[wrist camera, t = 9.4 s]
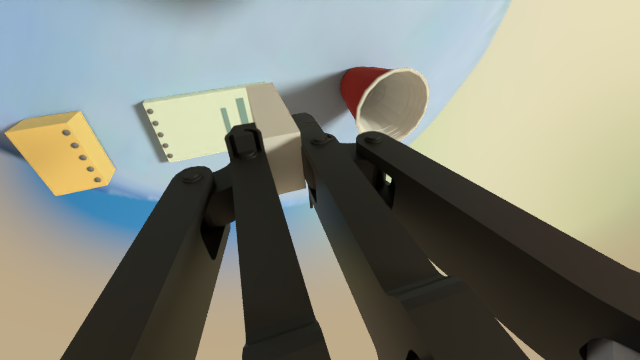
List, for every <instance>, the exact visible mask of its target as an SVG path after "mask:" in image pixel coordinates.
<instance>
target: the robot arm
mask: <svg viewBox="0 0 640 360" xmlns="http://www.w3.org/2000/svg"><path fill="white" fill-rule="evenodd" d="M245 87H246V91H247V96H248V101H249V105H250V110H251V115H252V119H253V122H252V123H247V124H241V125H235V126H233V127H232V129H231V130H230V132H229V133H228V134H227V135H225V138H224V140H225V143H226V147H227V150H228V153H229V157H230V163H229V164H228V165H227V166H226V167H224V168H222V169H220V170H218V171H216V172H213V173H212V171H211V170H210V169H209V168H207V167H204V166H196V167H190V168H188V169H184V170H183V171H181V172H179V173H178V174H176V175H175V176H174V178H173V179H172V180H171V182H170V184H169V185H168V187H167V188H166V190H165V192H164V193H163V195H162V196H161V198H160V200H159V201H158V203H157V205H156V206H155V208H154V209H153V211H152V213H151V214H150V216H149V217H148V219H147V221H146V222H145V224H144V225H143V227H142V229H141V230H140V232H139V233H138V235H137V237H136V238H135V240H134V242H133V243H132V245H131V246H130V248H129V250H128V251H127V253H126V255H125V256H124V258H123V259H122V261H121V263H120V264H119V266H118V267H117V269H116V271H115V272H114V274H113V276H112V277H111V279H110V280H109V282H108V283H107V285H106V287H105V288H104V290H103V291H102V293H101V295H100V296H99V298H98V300H97V301H96V303H95V304H94V306H93V308H92V309H91V311H90V312H89V314H88V316H87V317H86V319H85V321H84V322H83V324H82V326H81V327H80V328H79V330H78V332H77V333H76V335H75V337H74V338H73V340H72V341H71V343H70V345H69V346H68V348H67V349H66V351H65V353H64V354H63V356H62V358H61V359H60V360H195V357H196V354H197V351H198V347H199V343H200V339H201V336H202V332H203V328H204V325H205V321H206V317H207V313H208V310H209V306H210V302H211V298H212V295H213V291H214V287H215V284H216V280H217V276H218V273H219V269H220V265H221V262H222V258H223V254H224V250H225V247H226V243H227V239H228V235H229V232H230V223H231V222H233V221H235V220H236V231H237V242H238V254H239V265H240V275H241V287H242V299H243V309H244V320H245V332H246V344H245V346H244V348H243V353H242V360H331V359H330V356H329V352H328V349H327V346H326V343H325V340H324V336H323V333H322V330H321V328H320V325H319V323H318V321H317V320H316V318H315V315H314V312H313V309H312V306H311V303H310V299H309V296H308V293H307V289H306V286H305V283H304V279H303V276H302V273H301V269H300V266H299V263H298V260H297V256H296V252H295V249H294V246H293V243H292V239H291V236H290V233H289V229H288V226H287V222H286V219H285V216H284V213H283V209H282V206H281V202H280V199H279V196H278V195H279V194H283V193H287V192H291V191H296V190H300V189H304V188H306V182H307V184H308V190H309V200H310V208H313V205H314V208H315V210H316V212H317V214H318V217H319V219H320V221H321V223H322V226H323V228H324V230H325V232H326V235H327V237H328V240H329V242H330V244H331V247H332V249H333V251H334V254H335V256H336V258H337V260H338V263H339V265H340V267H341V270H342V272H343V274H344V277H345V279H346V281H347V283H348V285H349V288H350V290H351V293H352V295H353V297H354V300H355V302H356V304H357V306H358V309H359V311H360V313H361V316H362V318H363V320H364V323H365V325H366V327H367V330H368V332H369V334H370V336H371V338H372V341H373V343H374V346H375V348H376V351H377V355H378V359H379V360H530V359H529V358H528V357H527V356H526V355H525V353H524V352H523V351H522V350H521V349H520V347H519V346H518V345H517V344H516V343H515V341H514V340H513V339H512V338H511V337H510V335H509V334H508V333H507V332H506V331H505V329H504V328H503V327H502V326H501V324H500V323H499V322H498V321H497V320H496V319H498V320H499V321H500V322H501V323H502V324H503V325H504V326H505V327H507V328H508V329H509V330H510V331H511V332H512V333H514V334H515V335H516V336H517V337H518V338H519V339H520V340H522V341H523V342H524V343H525V344H527V345H528V346H529V347H530V348H531V349H533V350H534V351H535V352H536V353H537V354H539V355H540V356H541V357H543V358H544V359H545V360H640V273H639V272H636V271H634V270H631V269H629V268H627V267H625V266H624V265H621V264H620V263H618V262H616V261H614V260H613V259H611V258H609V257H607V256H605V255H604V254H602V253H600V252H598V251H596V250H595V249H593V248H591V247H589V246H587V245H586V244H584V243H582V242H580V241H578V240H576V239H575V238H573V237H571V236H569V235H567V234H566V233H564V232H562V231H560V230H558V229H556V228H555V227H553V226H551V225H549V224H547V223H546V222H544V221H542V220H540V219H538V218H537V217H535V216H533V215H531V214H529V213H528V212H526V211H524V210H522V209H520V208H518V207H517V206H515V205H513V204H511V203H509V202H508V201H506V200H504V199H502V198H500V197H499V196H497V195H495V194H493V193H491V192H489V191H488V190H486V189H484V188H482V187H481V186H479V185H477V184H475V183H473V182H471V181H470V180H468V179H466V178H464V177H462V176H461V175H459V174H457V173H455V172H453V171H451V170H450V169H448V168H446V167H444V166H442V165H441V164H439V163H437V162H435V161H433V160H432V159H430V158H428V157H426V156H424V155H423V154H421V153H419V152H417V151H415V150H413V149H412V148H410V147H408V146H406V145H404V144H403V143H401V142H399V141H397V140H395V139H394V138H392V137H390V136H388V135H386V134H384V133H381V132H376V131H367V132H363V133H361V134H359V135H358V136H357V137H356V143H339V141H338V140H337V139H336V137H334V136H333V135H331V134H328V133H324V132H323V131H322V129H321V128H320V126H319V125H318V124H317V122H316V121H315V119H314V118H313V117H312V116H311V115H309V114H307V113H300V114H294V115H290V113H289V111H288V109H287V108H286V106H285V104H284V102H283V100H282V99H281V97H280V95H279V93H278V92H277V90H276V88H275V86H274V85H273V83H265V84H258V85H251V86H245ZM386 174H387V175H389V176H390V177H391V178H392V180H391V183H389V182H388V181H386ZM305 179H306V182H305ZM429 260H430V261H432V262H433V263H434V264H435V265H436V266H437V267H438V268H440V269H441V270H442V271H443V272H444V273H445V274H446V275H448V276H443V275H441V274H440V273H439V272H438V271H437V270H436V268H435V267H434V266H433V264H432V263H431V262H430V261H429Z"/></svg>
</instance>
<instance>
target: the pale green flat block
mask: <svg viewBox="0 0 640 360" xmlns="http://www.w3.org/2000/svg"><path fill="white" fill-rule="evenodd" d="M258 84H265V82H258V83H251V84H245V85H238V86H232V87H226V88H219V89H213V90H206V91H200V92H193V93H187V94H180V95H174V96H167V97H161V98H154V99H148V100H144V102H143V106H144V108H145V110H146V112H147V114H148V117H149V119H150V121H151V123H152V125H153V128H154V130H155V132H156V134H157V136H158V139H159V141H160V143H161V145H162V147H163V150H164V152H165V154H166V156H167V158H168V161H169V163H171V162H176V161H181V160H185V159H190V158H195V157H200V156H205V155H210V154H215V153H220V152H225V151H228V150H227V147H226V143H225V140H224V138H225V135H227V134H228V133H229V132H230V130H231V129H232V127H233V126H235V125H241V124H247V123H252V122H253V119H252V115H251V110H250V105H249V101H248V96H247V91H246V87H245V86H251V85H258Z"/></svg>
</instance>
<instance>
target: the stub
mask: <svg viewBox="0 0 640 360" xmlns="http://www.w3.org/2000/svg"><path fill="white" fill-rule="evenodd" d="M5 134H6V136H7V137H8V138H9V139H10V140H11V142H12V143H13V144H14V145H15V147H16V148H17V149H18V150H19V152H20V153H21V154H22V155H23V156H24V158H25V159H26V160H27V161H28V163H29V164H30V165H31V166H32V168H33V169H34V170H35V171H36V172H37V174H38V175H39V176H40V177H41V179H42V180H43V181H44V182H45V184H46V185H47V186H48V187H49V188H50V190H51V191H52V192H53V193H54V195H55V196H58V195H63V194H68V193H72V192H77V191H82V190H87V189H92V188H96V187H101V186H106V185H108V183H109V181H110V179H111V177H112V176H113V174H114V172H115V168H114V166H113V165H112V163H111V161H110V160H109V158H108V156H107V155H106V153H105V152H104V150H103V148H102V147H101V145H100V143H99V142H98V140H97V138H96V137H95V135H94V133H93V132H92V130H91V128H90V127H89V125H88V123H87V122H86V120H85V118H84V117H83V115H82V113H81V112H80V111H75V112H68V113H62V114H55V115H49V116H42V117H36V118H29V119H24V120H22V121H21V122H19V123H18V124H16V125H15V126H13V127H12V128H11V129H9V130H8V131H6V132H5Z"/></svg>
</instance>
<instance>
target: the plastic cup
mask: <svg viewBox="0 0 640 360" xmlns="http://www.w3.org/2000/svg"><path fill="white" fill-rule="evenodd" d="M340 91H341V94H342V97H343V99H344V101H345V102H346V105H347V107H348V109H349V110H350V112H351V114H352V115H353V117H354V119H355V121H356V125H357V129H358V132H359V134H361V133H363V132H367V131H376V132H381V133H384V134H386V135H388V136H390V137H392V138H394V139H395V140H397V141H401V140H402V139H404V138H406V137H407V136H408V135H409V134H410V133H411V132H412V131H413V130H414V129H415V128H416V127H417V126H418V124H419V122H420V121H421V119H422V118H423V116H424V114H425V112H426V109H427V105H428V101H429V87H428V83H427V81H426V80H425V78H424V77H423V75H422V73H420V72H418V71H415V70H413V69H411V68H400V69H383V68H376V67H355V68H353V69H351V70H349V71H348V72H347V73H346V74H345V75H344V76H343V79H342V81H341V88H340Z"/></svg>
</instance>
